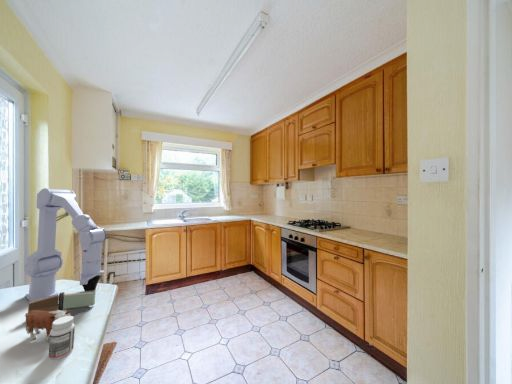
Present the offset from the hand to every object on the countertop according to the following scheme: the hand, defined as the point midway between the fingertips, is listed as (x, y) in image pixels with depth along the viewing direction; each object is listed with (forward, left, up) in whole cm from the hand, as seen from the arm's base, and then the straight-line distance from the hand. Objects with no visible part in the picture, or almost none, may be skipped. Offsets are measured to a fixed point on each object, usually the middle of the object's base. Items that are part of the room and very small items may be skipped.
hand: (89, 296), depth 77 cm
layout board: (-2, -8, -3) cm, 9 cm away
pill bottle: (+24, -13, -3) cm, 27 cm away
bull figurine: (+13, -14, -3) cm, 19 cm away
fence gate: (0, -3, -2) cm, 4 cm away
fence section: (-3, -11, -3) cm, 12 cm away
